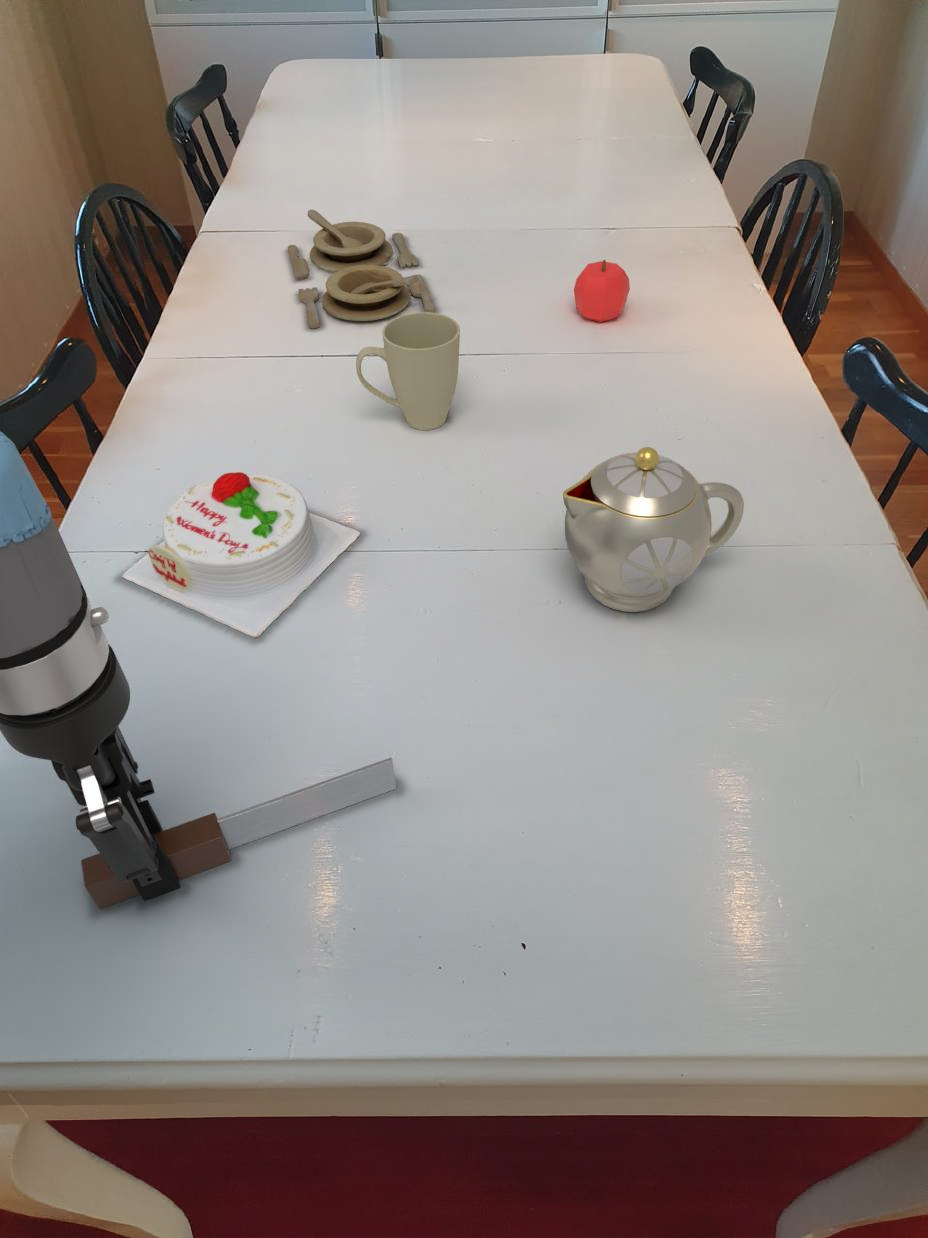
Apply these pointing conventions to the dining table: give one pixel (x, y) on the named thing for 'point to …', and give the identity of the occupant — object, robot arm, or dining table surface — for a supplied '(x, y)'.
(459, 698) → the dining table surface
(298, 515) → the cake
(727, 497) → the teapot
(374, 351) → the mug
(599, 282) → the apple
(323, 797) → the knife
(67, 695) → the robot arm
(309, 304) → the tableware set
